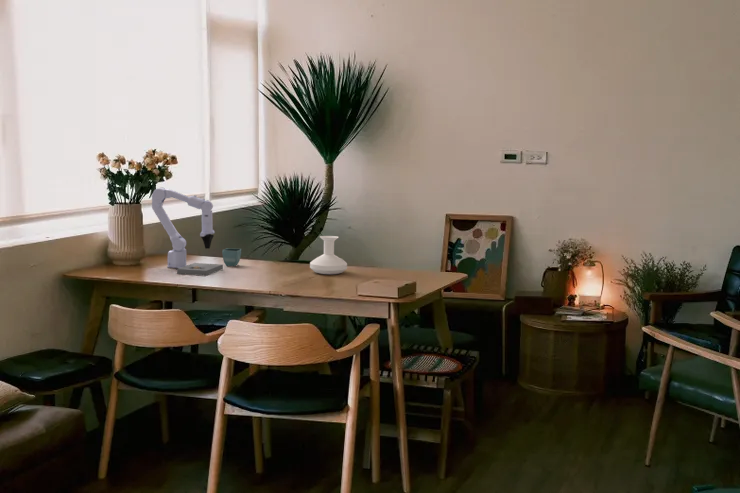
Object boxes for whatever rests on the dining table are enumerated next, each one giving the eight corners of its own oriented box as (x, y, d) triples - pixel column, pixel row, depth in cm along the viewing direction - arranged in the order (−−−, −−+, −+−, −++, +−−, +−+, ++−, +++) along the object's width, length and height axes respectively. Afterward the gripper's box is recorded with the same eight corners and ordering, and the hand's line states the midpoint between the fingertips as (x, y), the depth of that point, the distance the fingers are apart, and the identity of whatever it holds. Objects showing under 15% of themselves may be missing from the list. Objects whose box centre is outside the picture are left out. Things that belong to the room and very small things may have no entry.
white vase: (342, 277, 420) (343, 240, 418) (305, 274, 424) (305, 238, 422) (350, 271, 440) (351, 235, 437) (315, 269, 444) (315, 234, 441)
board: (177, 273, 416) (177, 268, 416) (194, 267, 438) (194, 262, 437) (206, 275, 413) (206, 270, 413) (222, 269, 435) (222, 264, 434)
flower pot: (241, 264, 451) (241, 248, 450) (237, 267, 442) (237, 250, 441) (226, 264, 452) (226, 248, 451) (221, 266, 443) (221, 250, 442)
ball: (198, 273, 419) (195, 268, 418) (194, 274, 421) (190, 269, 420) (202, 269, 422) (198, 264, 420) (198, 270, 424) (194, 265, 422)
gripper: (208, 224, 428) (209, 250, 429) (219, 222, 442) (219, 246, 443) (196, 224, 429) (196, 249, 431) (207, 221, 443) (207, 246, 445)
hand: (207, 248), depth 437 cm, fingers closed
